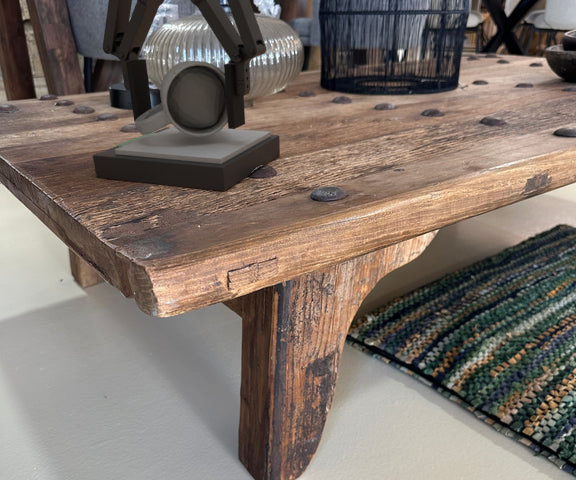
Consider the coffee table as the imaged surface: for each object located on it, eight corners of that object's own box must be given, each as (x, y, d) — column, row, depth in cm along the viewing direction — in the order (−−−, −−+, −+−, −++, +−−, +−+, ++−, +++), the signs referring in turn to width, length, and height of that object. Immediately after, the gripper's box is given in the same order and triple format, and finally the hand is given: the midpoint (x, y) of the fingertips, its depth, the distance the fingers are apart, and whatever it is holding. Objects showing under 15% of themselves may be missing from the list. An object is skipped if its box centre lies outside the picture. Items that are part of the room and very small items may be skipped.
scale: (96, 177, 63) (91, 149, 62) (168, 146, 76) (165, 122, 74) (224, 191, 58) (222, 161, 57) (280, 155, 70) (279, 130, 69)
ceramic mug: (221, 120, 70) (216, 53, 67) (237, 134, 63) (232, 60, 60) (134, 128, 67) (123, 58, 64) (140, 143, 61) (128, 66, 57)
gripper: (40, -106, 55) (82, 123, 65) (264, -127, 47) (272, 137, 58) (90, -97, 61) (121, 111, 72) (296, -114, 54) (298, 122, 64)
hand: (188, 123), depth 65 cm, fingers closed on ceramic mug, 11 cm apart
